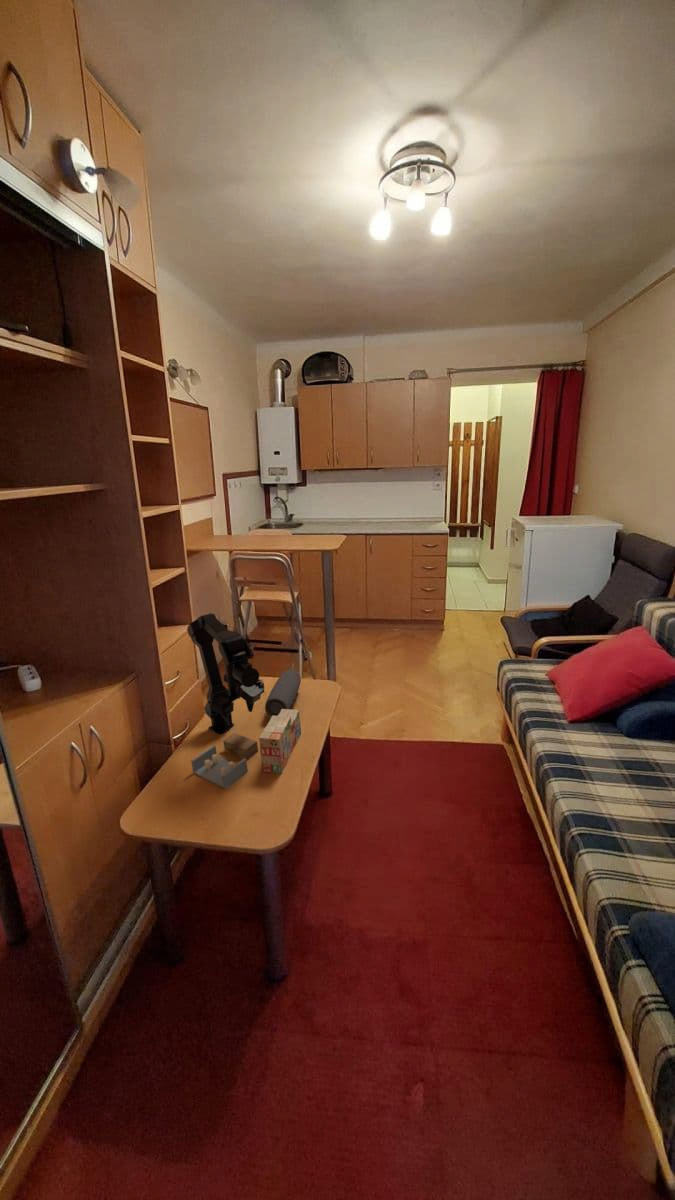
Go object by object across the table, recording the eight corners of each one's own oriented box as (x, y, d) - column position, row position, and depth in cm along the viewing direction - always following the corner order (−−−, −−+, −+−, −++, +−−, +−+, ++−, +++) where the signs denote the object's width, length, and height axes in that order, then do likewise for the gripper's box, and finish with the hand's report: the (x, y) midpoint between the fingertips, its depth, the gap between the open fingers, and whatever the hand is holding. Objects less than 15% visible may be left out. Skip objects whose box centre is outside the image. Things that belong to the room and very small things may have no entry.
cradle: (193, 772, 141) (191, 760, 140) (215, 756, 148) (213, 745, 147) (225, 788, 134) (224, 776, 132) (247, 771, 141) (246, 758, 139)
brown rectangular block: (224, 751, 151) (223, 740, 150) (235, 743, 155) (234, 732, 154) (247, 760, 146) (246, 749, 145) (258, 752, 150) (257, 741, 149)
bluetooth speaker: (280, 690, 189) (278, 668, 186) (302, 691, 187) (301, 668, 184) (264, 721, 167) (262, 696, 164) (289, 722, 166) (287, 697, 163)
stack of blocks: (284, 732, 160) (281, 700, 156) (301, 733, 159) (299, 701, 155) (262, 772, 140) (258, 737, 136) (282, 774, 139) (279, 738, 135)
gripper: (233, 694, 131) (239, 741, 136) (275, 667, 146) (279, 711, 151) (205, 685, 136) (211, 730, 141) (248, 660, 151) (253, 702, 156)
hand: (240, 718), depth 147 cm, fingers open, 9 cm apart
